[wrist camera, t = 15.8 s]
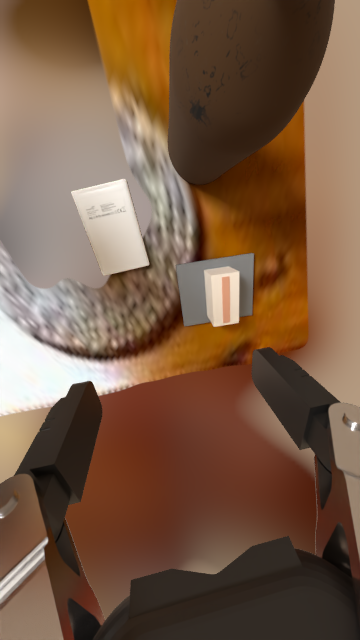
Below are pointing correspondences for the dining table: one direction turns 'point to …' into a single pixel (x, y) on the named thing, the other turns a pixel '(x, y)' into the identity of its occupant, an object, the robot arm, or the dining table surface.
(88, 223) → the external hard drive
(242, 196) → the dining table surface
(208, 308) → the block
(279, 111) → the olive oil
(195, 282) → the mat
